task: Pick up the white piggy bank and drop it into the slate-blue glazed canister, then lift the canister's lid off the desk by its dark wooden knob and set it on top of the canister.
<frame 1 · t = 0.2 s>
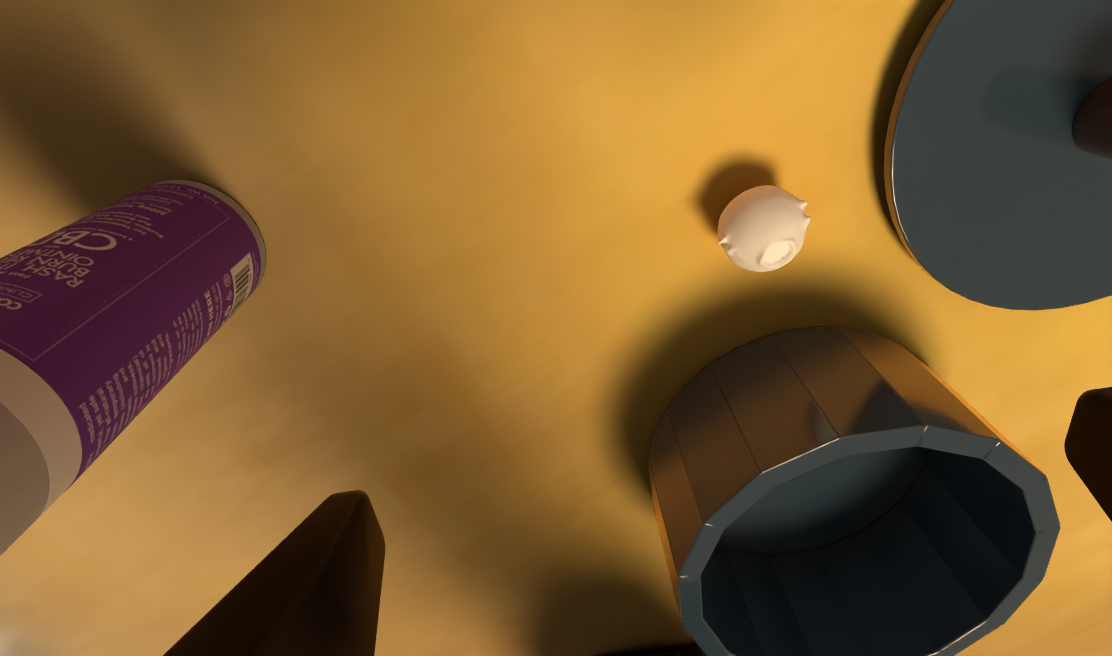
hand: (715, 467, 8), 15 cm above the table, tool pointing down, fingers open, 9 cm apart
lid: (1099, 112, 20), point 1 cm above the table
container: (199, 244, 22), on the table
white piggy bank: (746, 216, 22), on the table
canister: (794, 455, 27), on the table
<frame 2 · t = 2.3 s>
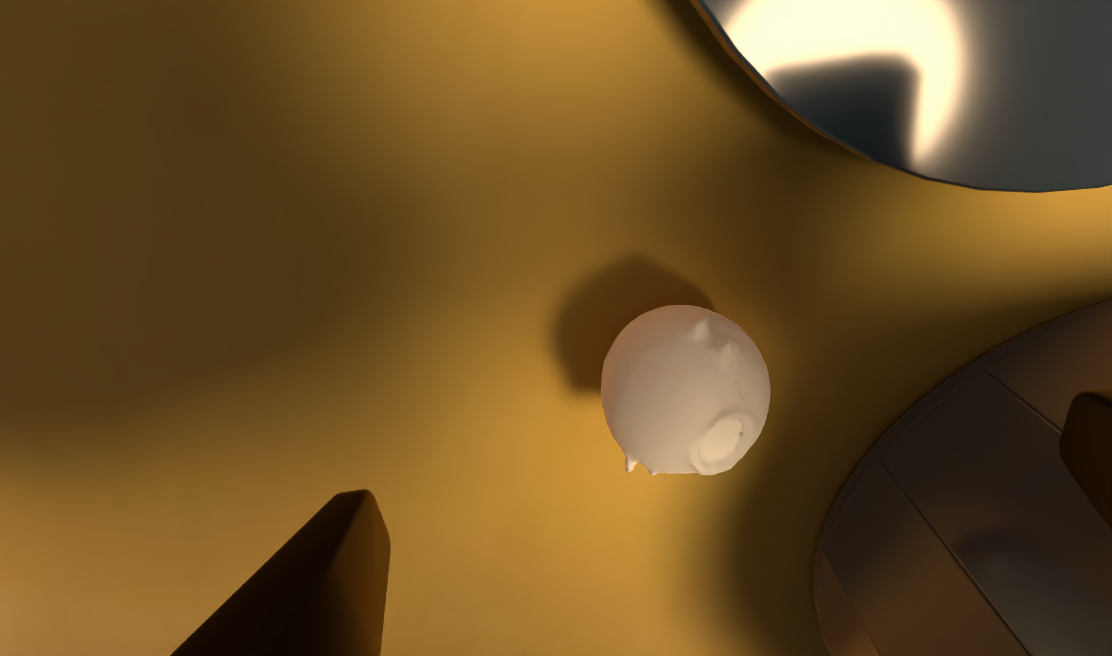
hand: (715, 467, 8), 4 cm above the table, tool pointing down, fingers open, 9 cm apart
white piggy bank: (668, 345, 12), on the table
canister: (1091, 538, 14), on the table
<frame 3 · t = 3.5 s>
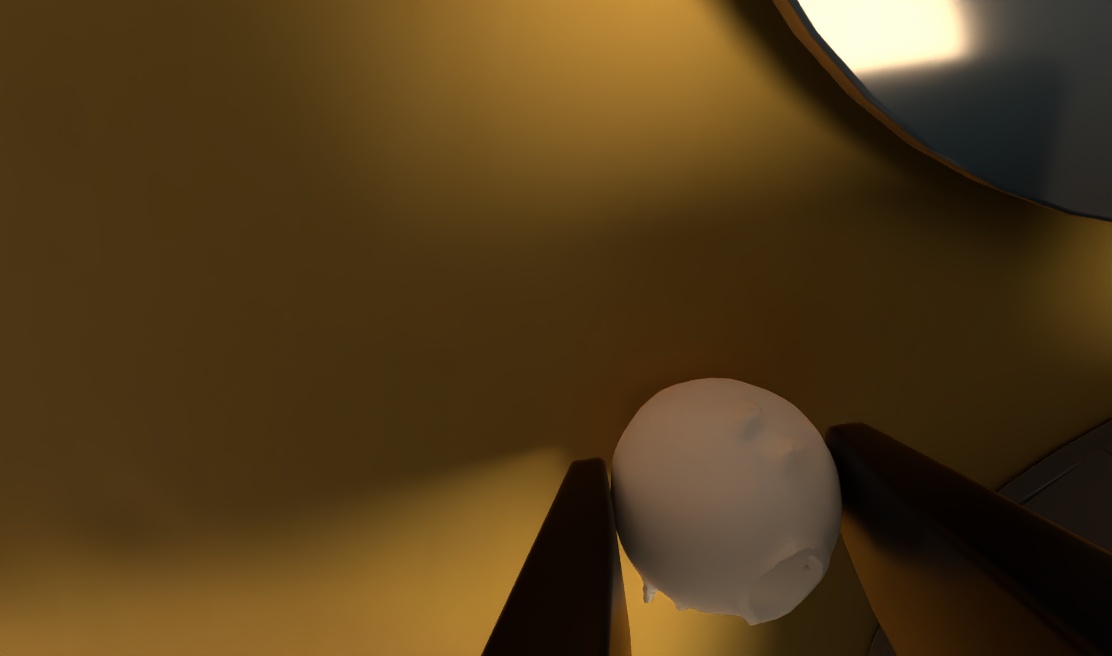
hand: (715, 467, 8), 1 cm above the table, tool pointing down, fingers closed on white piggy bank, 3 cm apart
white piggy bank: (694, 417, 9), on the table, touching gripper
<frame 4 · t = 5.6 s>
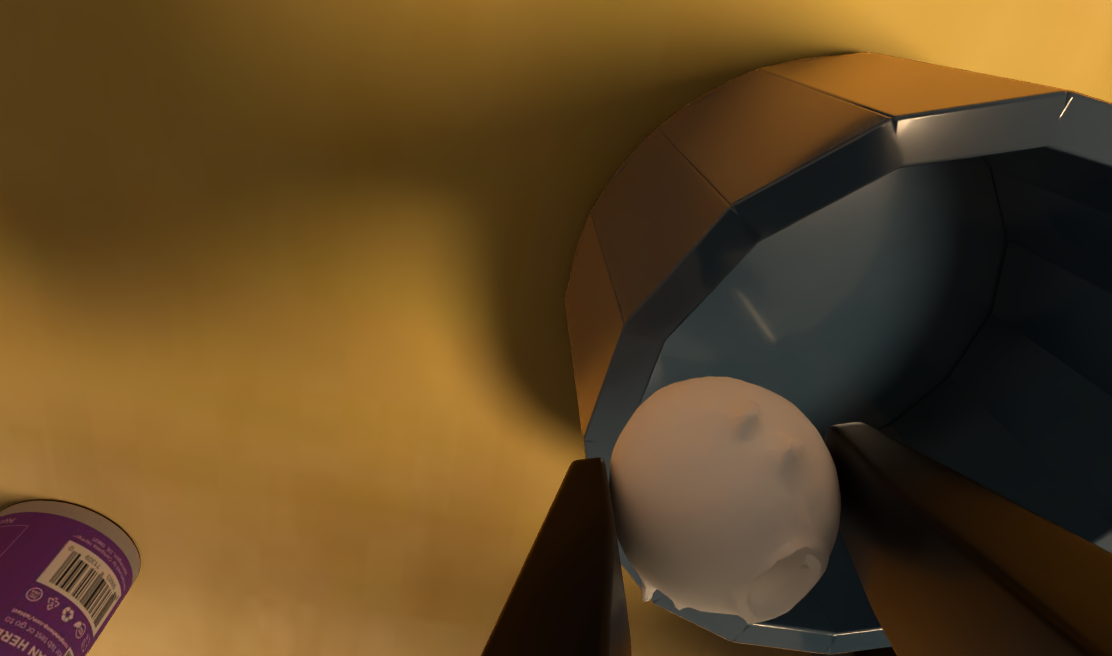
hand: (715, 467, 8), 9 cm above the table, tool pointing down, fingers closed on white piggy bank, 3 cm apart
container: (70, 546, 21), on the table
white piggy bank: (693, 416, 9), point 8 cm above the table, touching gripper
canister: (791, 298, 17), on the table
when the fingers open (4 cm above the table, at t = 7.7 s): white piggy bank drops 3 cm, resting on canister.
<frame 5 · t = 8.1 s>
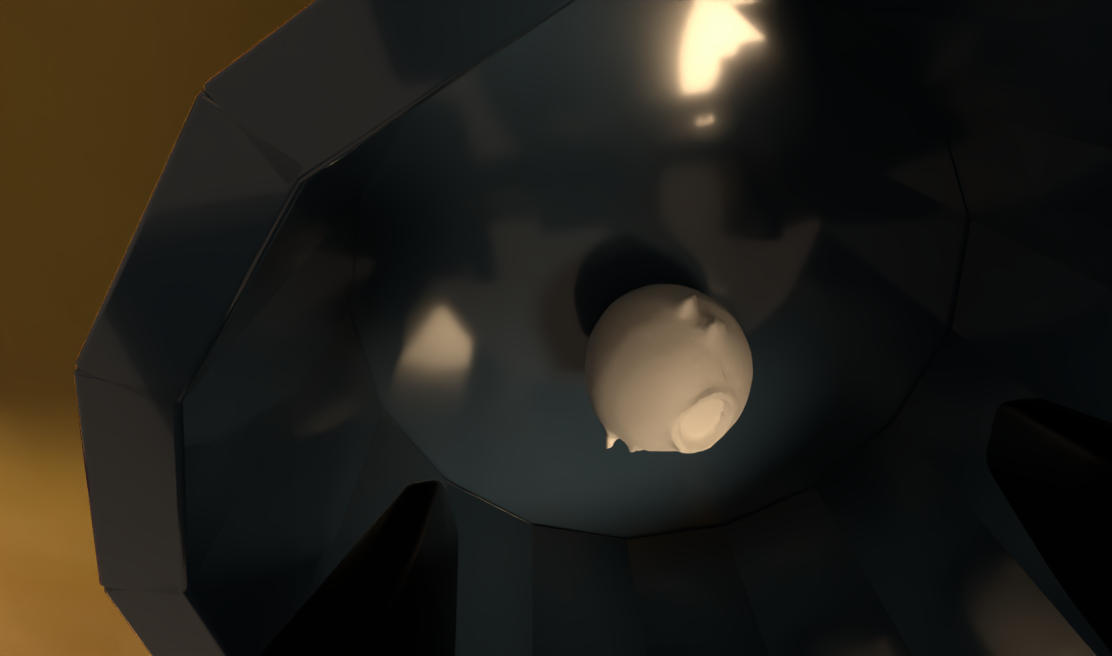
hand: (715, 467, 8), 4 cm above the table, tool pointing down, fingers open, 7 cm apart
white piggy bank: (652, 326, 12), resting on canister
canister: (653, 308, 12), on the table
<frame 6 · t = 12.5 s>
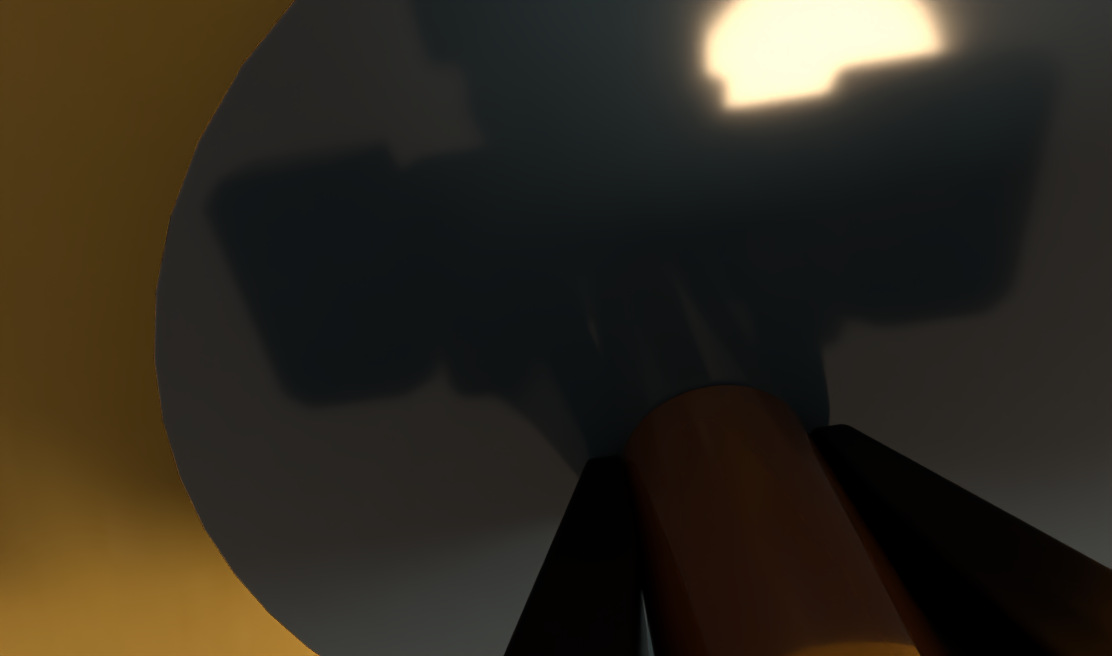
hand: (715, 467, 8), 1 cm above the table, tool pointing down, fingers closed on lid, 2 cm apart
lid: (703, 436, 8), point 1 cm above the table, touching gripper
when the fingers open (7 cm above the table, at t = 17.1 s): lid stays where it is, resting on canister.
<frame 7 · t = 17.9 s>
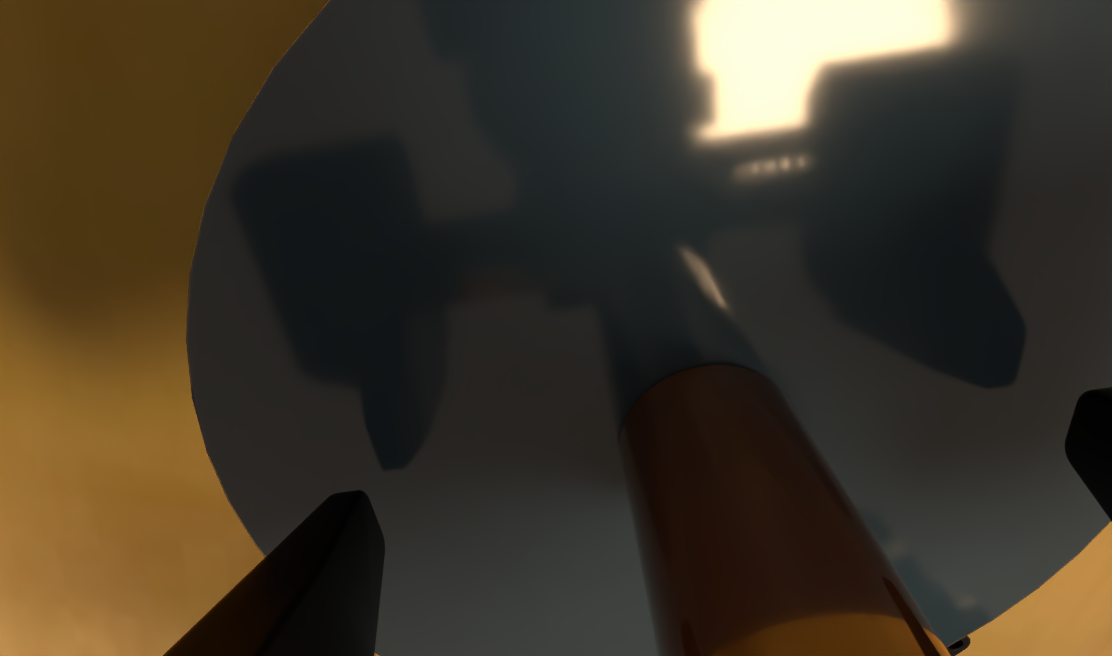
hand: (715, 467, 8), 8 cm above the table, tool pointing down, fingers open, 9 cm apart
lid: (696, 415, 9), point 6 cm above the table, touching canister
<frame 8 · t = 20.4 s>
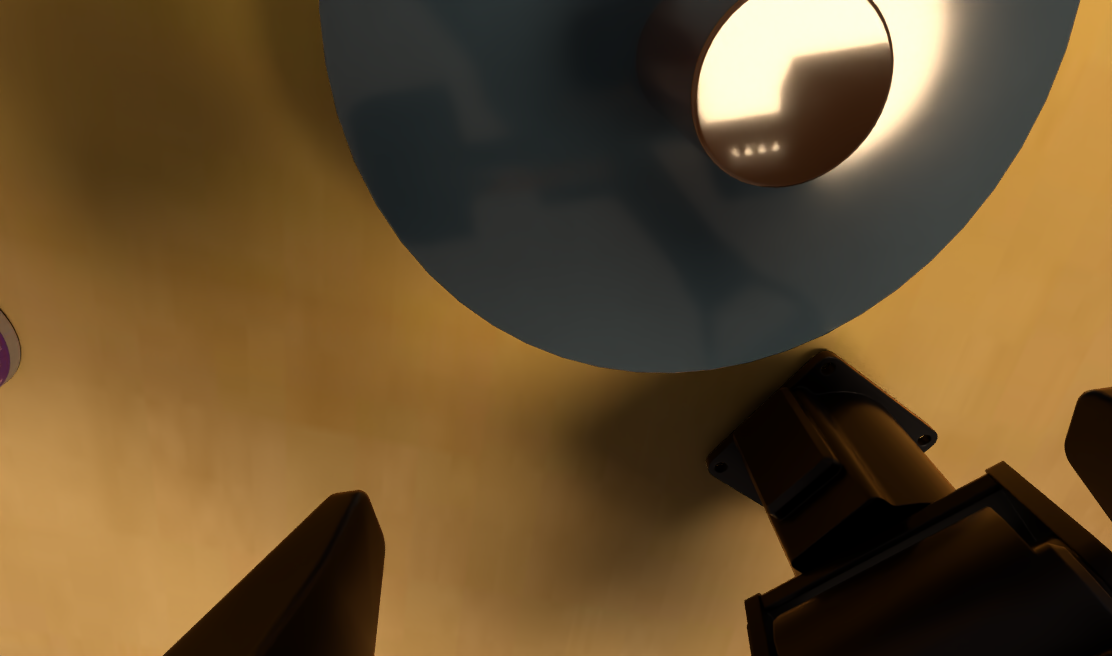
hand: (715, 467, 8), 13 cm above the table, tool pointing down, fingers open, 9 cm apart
lid: (694, 54, 12), point 6 cm above the table, touching canister
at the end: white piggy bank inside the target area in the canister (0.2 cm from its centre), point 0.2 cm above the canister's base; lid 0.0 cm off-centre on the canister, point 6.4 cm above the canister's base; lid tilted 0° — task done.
